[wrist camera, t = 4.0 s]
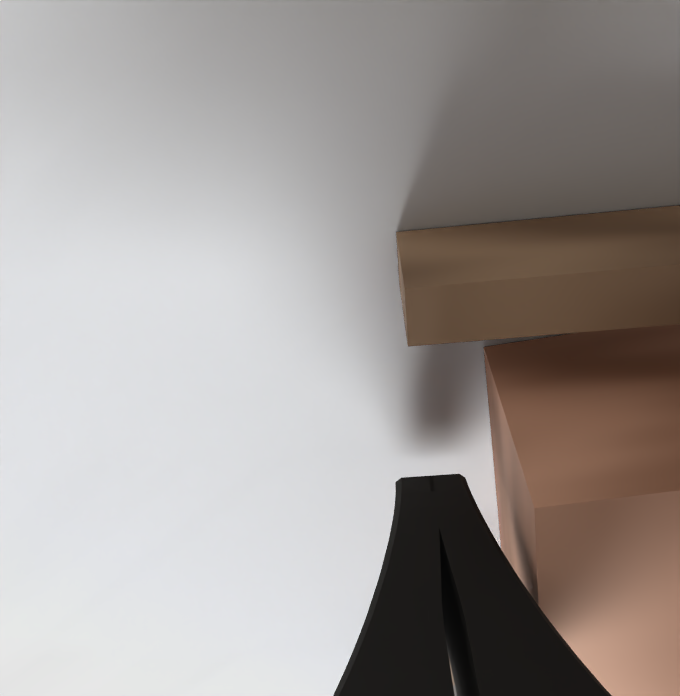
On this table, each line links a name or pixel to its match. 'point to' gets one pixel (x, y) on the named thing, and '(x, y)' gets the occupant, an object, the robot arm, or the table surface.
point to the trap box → (541, 277)
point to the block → (595, 494)
